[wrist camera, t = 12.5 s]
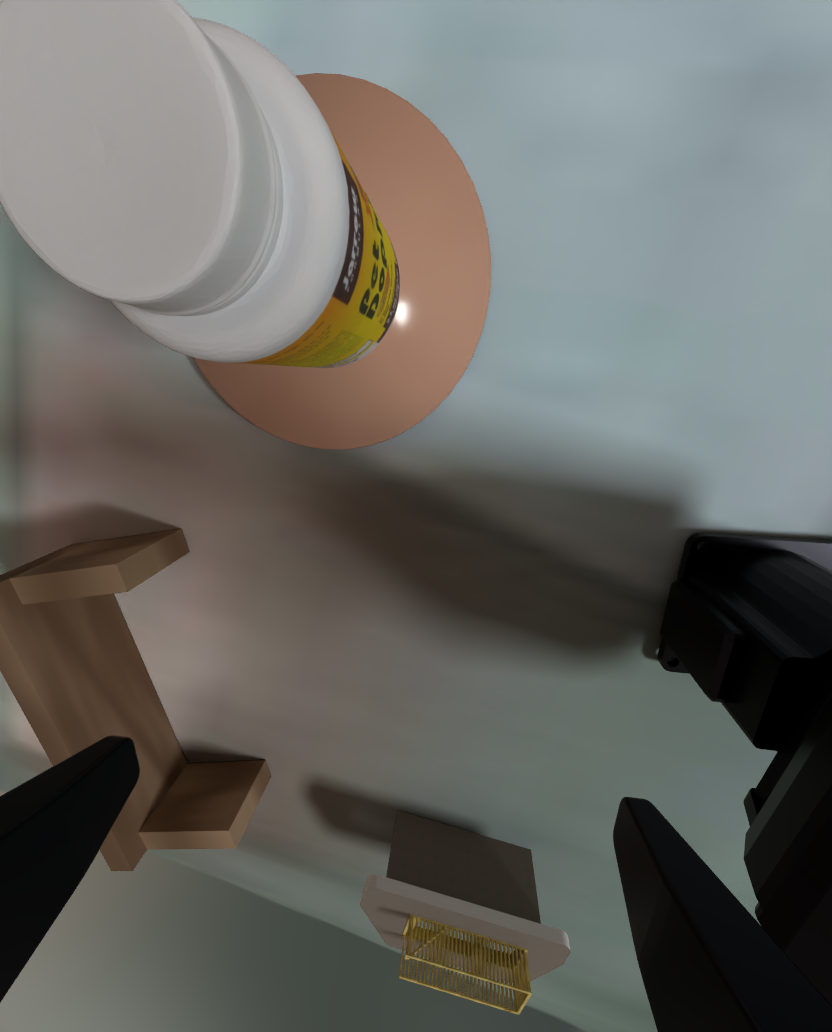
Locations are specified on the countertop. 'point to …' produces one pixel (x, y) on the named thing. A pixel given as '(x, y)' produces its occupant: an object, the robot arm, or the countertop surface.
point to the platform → (463, 909)
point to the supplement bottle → (188, 184)
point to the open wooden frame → (115, 694)
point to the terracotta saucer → (423, 283)
